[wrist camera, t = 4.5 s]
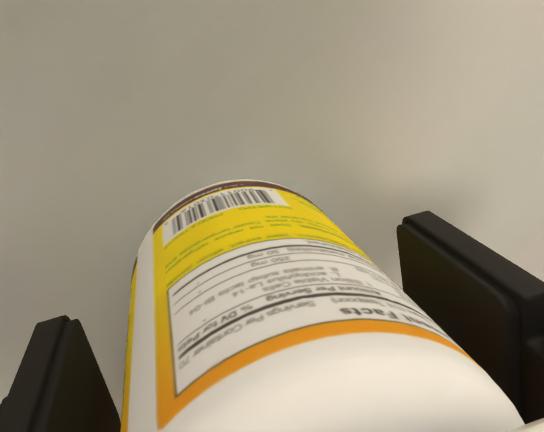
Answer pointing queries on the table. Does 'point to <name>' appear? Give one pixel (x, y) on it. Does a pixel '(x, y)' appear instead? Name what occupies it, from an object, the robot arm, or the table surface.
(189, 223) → the supplement bottle
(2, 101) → the table surface
